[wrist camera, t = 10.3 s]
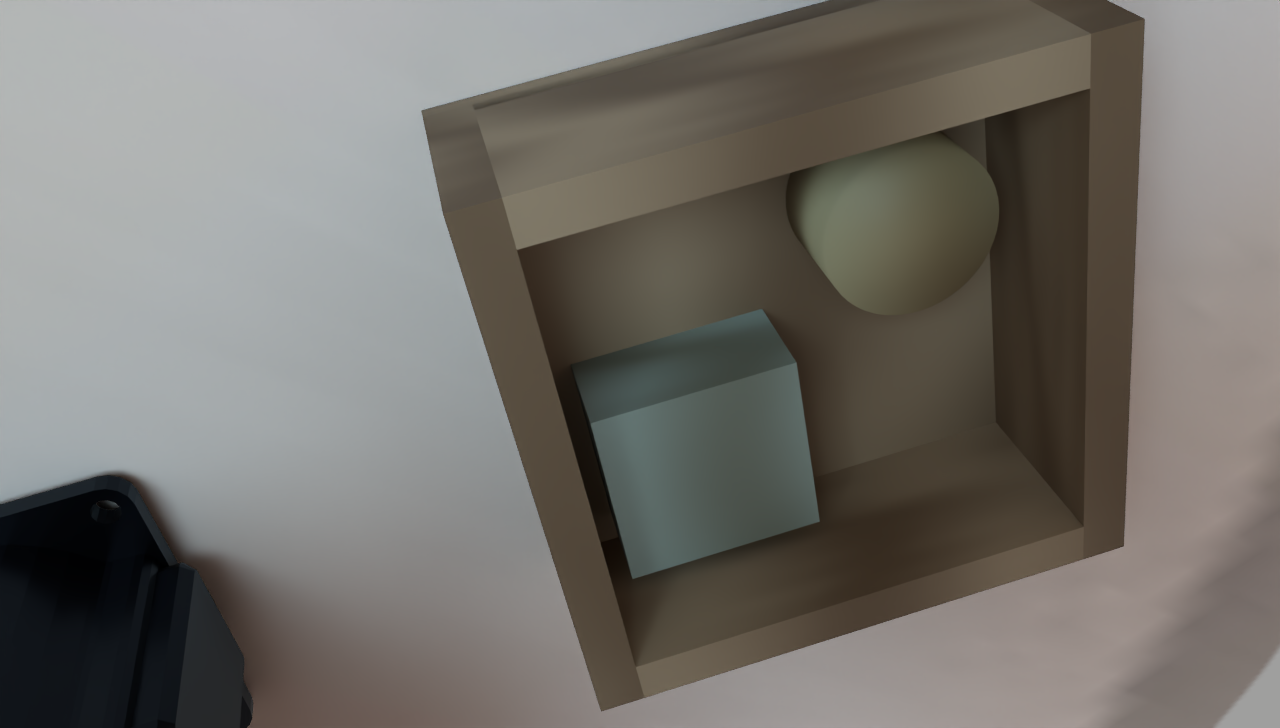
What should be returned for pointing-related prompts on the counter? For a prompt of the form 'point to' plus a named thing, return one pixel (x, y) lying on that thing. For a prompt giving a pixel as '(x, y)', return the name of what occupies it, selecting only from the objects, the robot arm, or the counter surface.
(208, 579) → the counter surface
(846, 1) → the box
